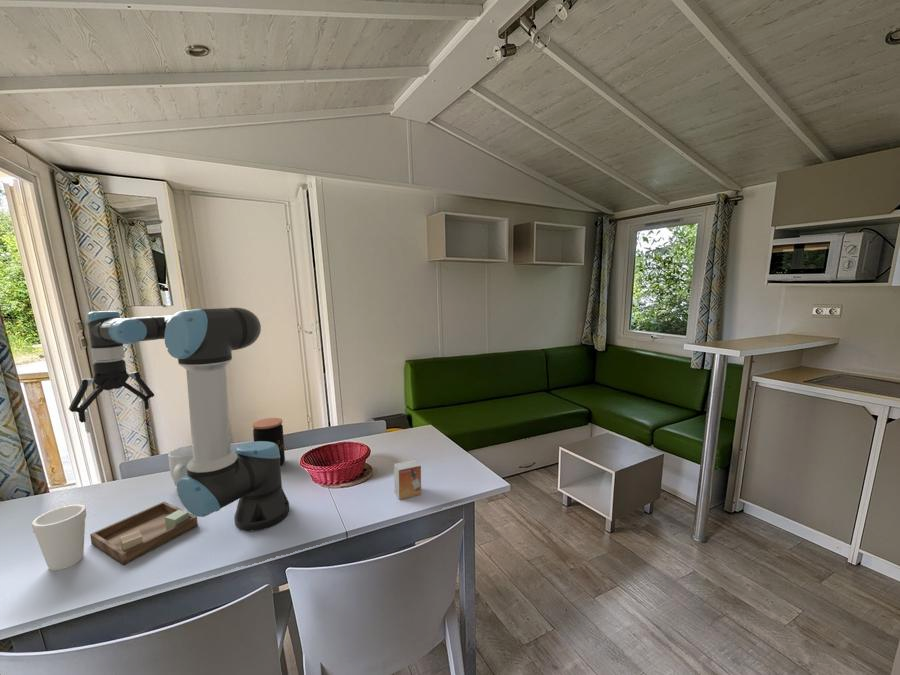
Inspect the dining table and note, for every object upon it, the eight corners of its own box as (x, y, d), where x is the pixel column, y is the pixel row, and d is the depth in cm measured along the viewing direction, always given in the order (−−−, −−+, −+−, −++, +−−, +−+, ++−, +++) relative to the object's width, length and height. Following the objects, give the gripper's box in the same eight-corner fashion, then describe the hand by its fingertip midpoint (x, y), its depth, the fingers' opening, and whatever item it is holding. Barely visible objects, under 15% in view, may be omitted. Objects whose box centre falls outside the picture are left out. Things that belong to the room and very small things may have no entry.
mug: (196, 496, 127) (192, 460, 125) (159, 500, 125) (155, 463, 123) (213, 475, 141) (210, 442, 140) (180, 479, 139) (177, 445, 137)
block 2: (189, 524, 111) (188, 511, 110) (176, 532, 107) (175, 519, 106) (179, 522, 112) (178, 509, 111) (166, 530, 108) (164, 517, 108)
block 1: (143, 550, 100) (142, 536, 99) (124, 558, 97) (122, 543, 96) (140, 543, 102) (139, 529, 102) (121, 550, 100) (120, 537, 99)
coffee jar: (277, 471, 144) (274, 426, 142) (250, 471, 144) (246, 427, 142) (289, 459, 155) (287, 417, 152) (264, 459, 155) (261, 417, 153)
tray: (197, 525, 111) (196, 516, 111) (123, 565, 95) (122, 554, 95) (165, 510, 119) (164, 501, 119) (91, 544, 103) (90, 534, 103)
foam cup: (57, 578, 91) (50, 528, 89) (29, 572, 93) (21, 523, 91) (100, 551, 100) (94, 506, 99) (74, 547, 102) (67, 502, 101)
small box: (398, 500, 124) (398, 470, 122) (394, 492, 129) (393, 463, 128) (421, 494, 127) (421, 465, 126) (416, 487, 132) (415, 458, 131)
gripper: (153, 353, 130) (160, 412, 132) (49, 365, 110) (59, 434, 112) (161, 355, 125) (167, 416, 128) (54, 368, 105) (64, 440, 108)
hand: (117, 425), depth 120 cm, fingers open, 13 cm apart
